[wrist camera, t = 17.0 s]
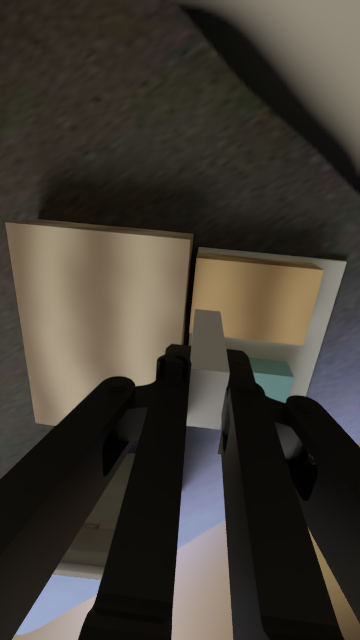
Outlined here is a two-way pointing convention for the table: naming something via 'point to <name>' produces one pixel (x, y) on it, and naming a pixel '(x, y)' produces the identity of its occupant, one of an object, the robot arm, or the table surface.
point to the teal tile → (272, 377)
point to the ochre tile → (257, 296)
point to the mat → (306, 355)
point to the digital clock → (97, 530)
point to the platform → (95, 305)
